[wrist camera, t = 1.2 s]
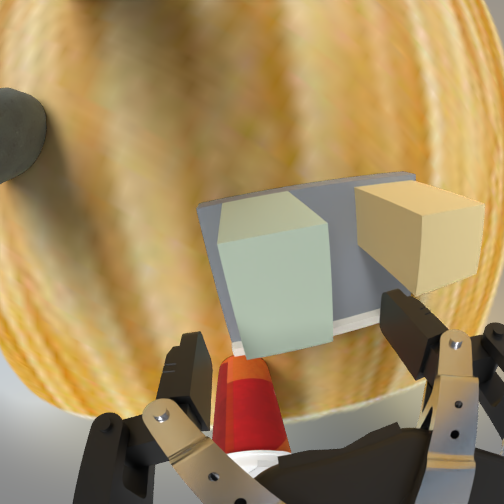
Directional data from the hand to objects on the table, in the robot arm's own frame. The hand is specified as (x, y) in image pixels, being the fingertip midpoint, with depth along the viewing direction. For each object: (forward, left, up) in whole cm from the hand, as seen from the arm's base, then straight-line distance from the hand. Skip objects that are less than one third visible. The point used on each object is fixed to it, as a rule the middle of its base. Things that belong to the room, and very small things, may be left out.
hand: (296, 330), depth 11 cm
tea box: (0, 0, -11) cm, 11 cm away
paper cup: (+16, -5, -14) cm, 21 cm away
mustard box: (-1, +11, -11) cm, 16 cm away
